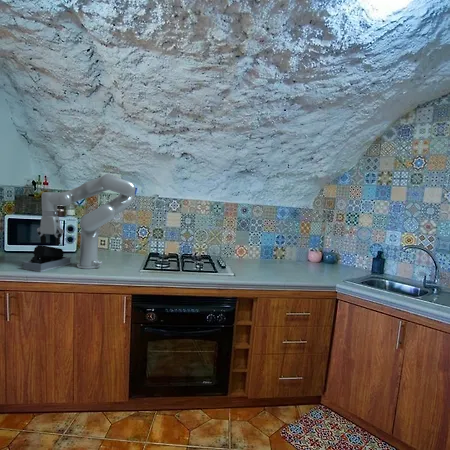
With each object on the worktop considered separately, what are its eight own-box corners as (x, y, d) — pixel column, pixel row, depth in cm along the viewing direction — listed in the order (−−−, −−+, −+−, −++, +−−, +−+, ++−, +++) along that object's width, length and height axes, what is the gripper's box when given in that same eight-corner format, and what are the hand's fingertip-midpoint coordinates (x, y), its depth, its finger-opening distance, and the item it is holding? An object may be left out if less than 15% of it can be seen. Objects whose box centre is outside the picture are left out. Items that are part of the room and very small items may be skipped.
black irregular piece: (26, 261, 172) (30, 243, 173) (52, 265, 189) (55, 248, 191) (37, 263, 170) (41, 244, 172) (61, 266, 187) (65, 249, 189)
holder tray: (70, 264, 191) (70, 257, 190) (40, 271, 169) (40, 264, 169) (54, 261, 193) (54, 255, 193) (23, 269, 172) (23, 262, 171)
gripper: (67, 214, 180) (68, 244, 182) (42, 213, 184) (43, 242, 186) (57, 215, 173) (58, 246, 175) (31, 213, 177) (32, 244, 179)
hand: (50, 244), depth 180 cm, fingers open, 9 cm apart
